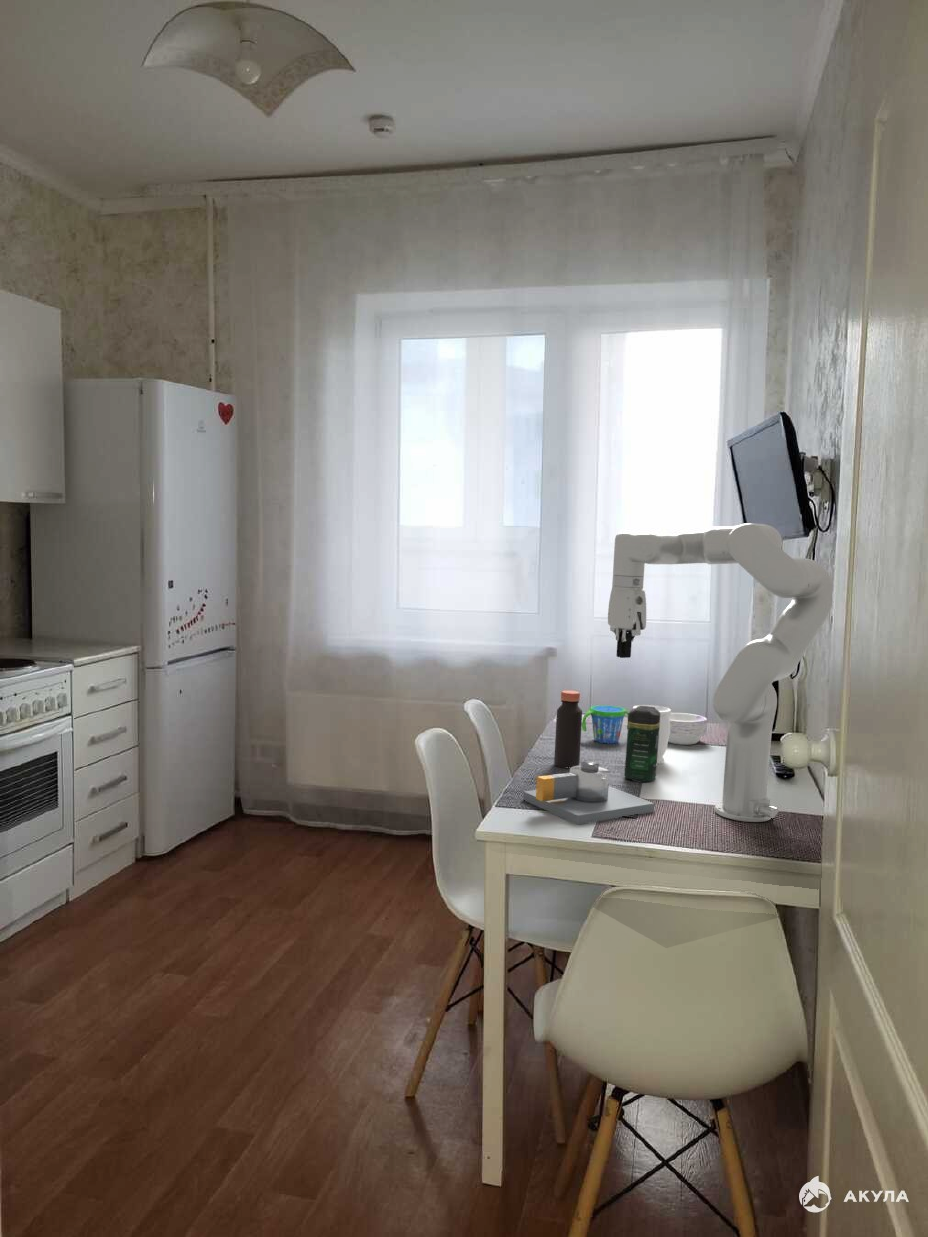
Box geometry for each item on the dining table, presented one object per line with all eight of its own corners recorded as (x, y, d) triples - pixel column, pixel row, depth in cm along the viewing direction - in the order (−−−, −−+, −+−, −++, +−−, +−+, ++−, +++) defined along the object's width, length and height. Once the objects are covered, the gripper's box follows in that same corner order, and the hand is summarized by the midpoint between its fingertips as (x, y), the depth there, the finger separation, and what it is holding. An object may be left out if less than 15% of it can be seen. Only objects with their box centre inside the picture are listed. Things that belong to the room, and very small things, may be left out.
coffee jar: (653, 784, 236) (657, 711, 234) (621, 780, 238) (626, 708, 236) (658, 775, 245) (663, 705, 243) (628, 771, 247) (632, 702, 246)
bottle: (553, 761, 255) (556, 689, 253) (578, 763, 255) (582, 690, 253) (554, 768, 248) (558, 693, 246) (580, 769, 248) (584, 694, 246)
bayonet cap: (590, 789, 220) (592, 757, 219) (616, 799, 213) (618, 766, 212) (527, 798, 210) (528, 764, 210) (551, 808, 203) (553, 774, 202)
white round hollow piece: (651, 735, 295) (653, 710, 294) (700, 737, 295) (701, 712, 294) (659, 746, 280) (661, 720, 279) (710, 748, 279) (712, 722, 279)
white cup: (652, 767, 253) (655, 713, 252) (622, 759, 261) (625, 706, 259) (675, 762, 260) (679, 709, 259) (645, 754, 268) (648, 703, 266)
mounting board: (653, 812, 212) (654, 803, 211) (577, 824, 200) (578, 815, 200) (596, 789, 228) (597, 781, 228) (523, 800, 217) (523, 791, 217)
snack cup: (586, 745, 277) (588, 711, 276) (576, 737, 287) (578, 704, 286) (636, 745, 279) (638, 712, 278) (625, 737, 290) (627, 705, 289)
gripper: (659, 585, 225) (655, 661, 227) (621, 581, 238) (617, 652, 240) (634, 585, 221) (630, 661, 223) (597, 581, 235) (593, 653, 236)
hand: (623, 657), depth 231 cm, fingers closed
